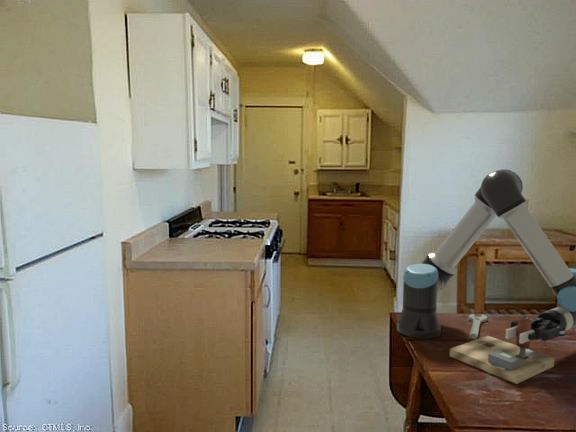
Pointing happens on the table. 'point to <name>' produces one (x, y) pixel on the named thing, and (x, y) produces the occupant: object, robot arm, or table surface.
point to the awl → (522, 327)
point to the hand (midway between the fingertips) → (513, 336)
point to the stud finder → (504, 360)
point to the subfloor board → (482, 347)
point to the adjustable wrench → (476, 324)
